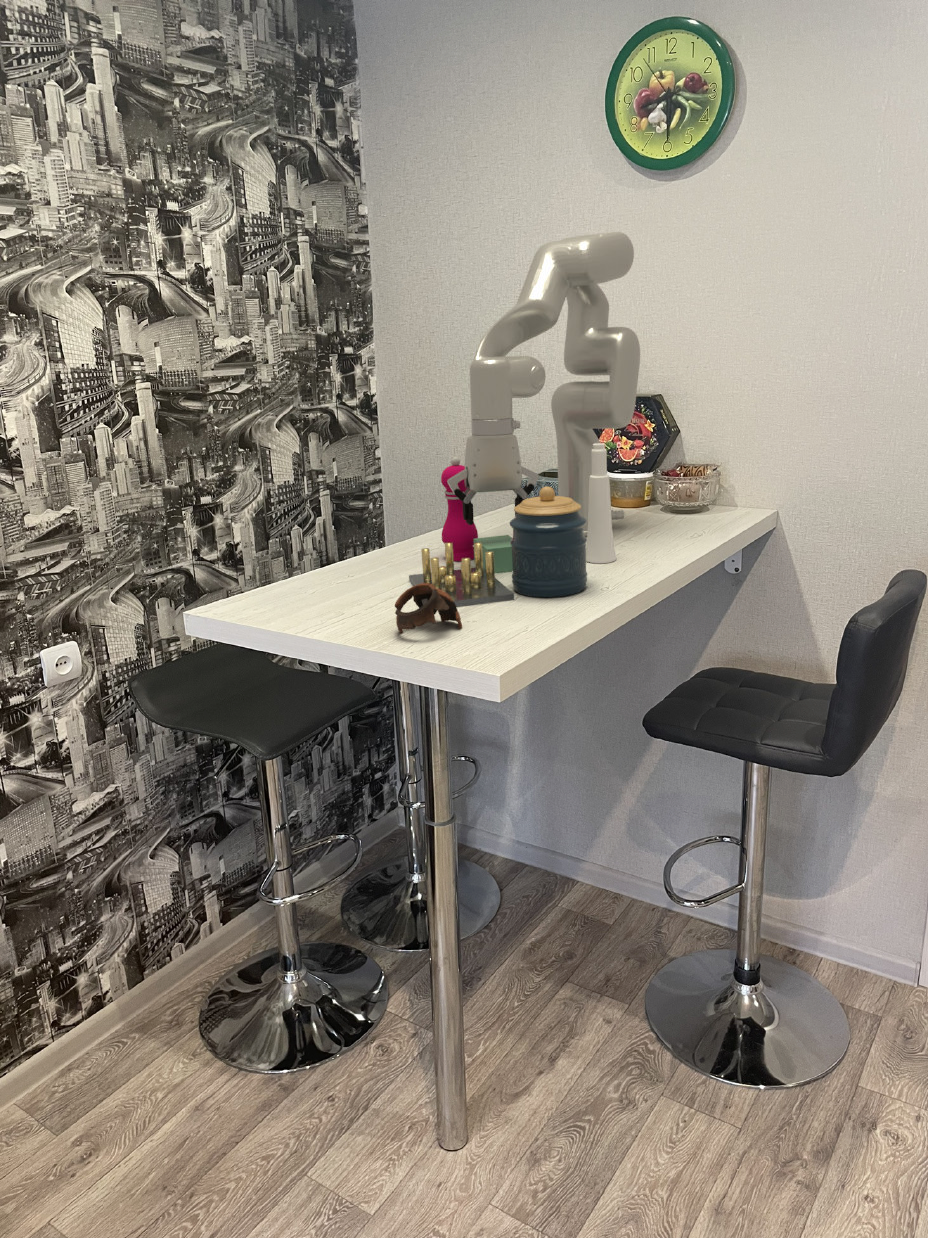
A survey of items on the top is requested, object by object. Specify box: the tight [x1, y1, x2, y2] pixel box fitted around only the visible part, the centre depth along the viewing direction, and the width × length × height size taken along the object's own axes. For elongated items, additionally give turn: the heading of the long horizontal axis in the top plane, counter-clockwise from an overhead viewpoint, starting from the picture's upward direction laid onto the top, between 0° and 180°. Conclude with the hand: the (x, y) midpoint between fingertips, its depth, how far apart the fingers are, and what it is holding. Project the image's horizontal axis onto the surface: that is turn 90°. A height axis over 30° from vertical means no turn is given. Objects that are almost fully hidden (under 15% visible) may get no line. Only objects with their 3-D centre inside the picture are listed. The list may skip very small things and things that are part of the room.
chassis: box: [408, 542, 515, 608], centre depth 163 cm, size 14×20×7 cm
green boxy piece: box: [473, 534, 513, 574], centre depth 177 cm, size 7×10×5 cm
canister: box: [509, 486, 588, 598], centre depth 159 cm, size 13×13×18 cm
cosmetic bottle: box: [586, 442, 617, 564], centre depth 175 cm, size 6×6×22 cm
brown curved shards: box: [394, 583, 463, 634], centre depth 143 cm, size 12×10×8 cm
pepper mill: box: [440, 456, 479, 562], centre depth 183 cm, size 7×7×20 cm
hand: (494, 521), depth 175 cm, fingers open, 9 cm apart
